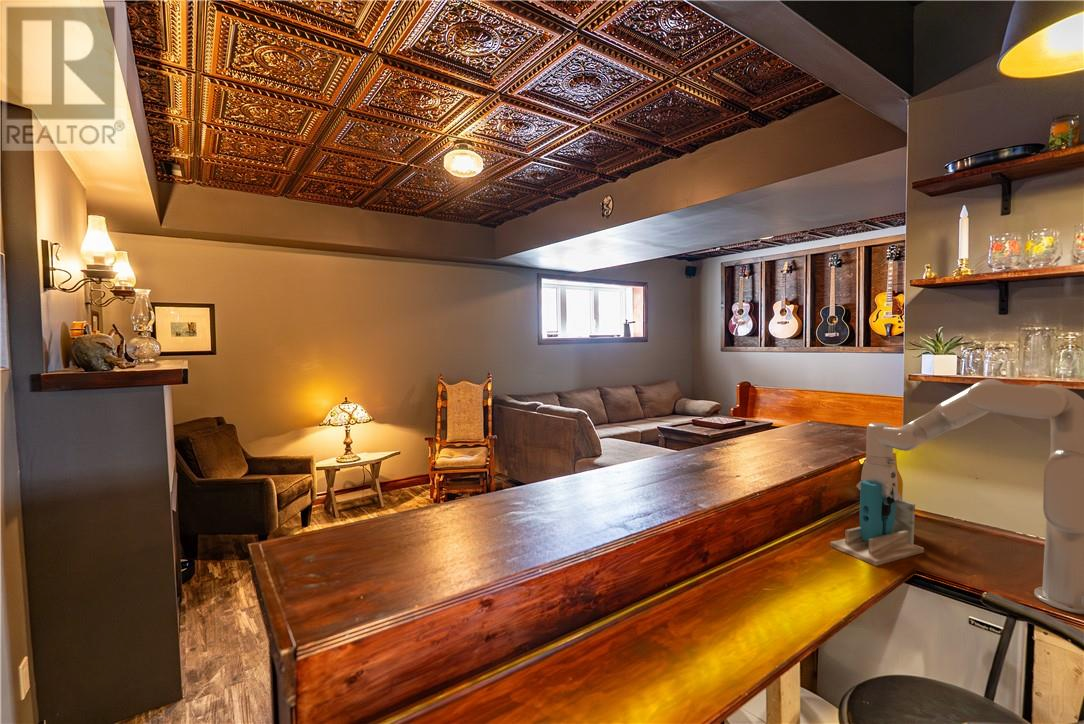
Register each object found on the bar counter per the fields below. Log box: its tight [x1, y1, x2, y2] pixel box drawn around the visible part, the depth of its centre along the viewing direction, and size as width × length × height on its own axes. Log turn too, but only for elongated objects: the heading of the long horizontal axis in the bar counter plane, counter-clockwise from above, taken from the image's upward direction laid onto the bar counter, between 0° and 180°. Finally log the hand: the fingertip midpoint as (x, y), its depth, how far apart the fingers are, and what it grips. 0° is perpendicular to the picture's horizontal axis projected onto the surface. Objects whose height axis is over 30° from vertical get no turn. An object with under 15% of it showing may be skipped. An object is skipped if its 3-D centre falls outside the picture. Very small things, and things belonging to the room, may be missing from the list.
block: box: [859, 481, 895, 542], centre depth 172 cm, size 12×5×20 cm, turn 113°
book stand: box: [829, 499, 925, 567], centre depth 172 cm, size 16×24×16 cm, turn 112°
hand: (877, 512), depth 172 cm, fingers closed on block, 5 cm apart
